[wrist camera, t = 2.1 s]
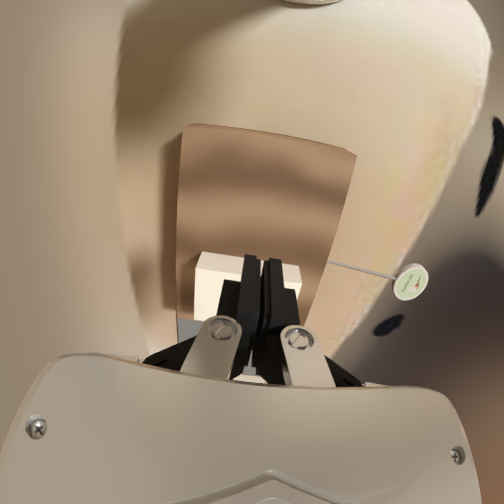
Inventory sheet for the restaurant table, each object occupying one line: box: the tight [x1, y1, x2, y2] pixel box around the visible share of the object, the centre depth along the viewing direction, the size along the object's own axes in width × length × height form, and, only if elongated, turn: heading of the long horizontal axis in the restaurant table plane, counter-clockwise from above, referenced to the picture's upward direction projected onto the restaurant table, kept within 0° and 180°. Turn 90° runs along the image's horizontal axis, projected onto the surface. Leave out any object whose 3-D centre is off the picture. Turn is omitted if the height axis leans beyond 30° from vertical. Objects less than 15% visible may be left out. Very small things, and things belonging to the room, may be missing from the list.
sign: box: [327, 260, 428, 300], centre depth 30 cm, size 5×1×15 cm
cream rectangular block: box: [194, 251, 302, 321], centre depth 25 cm, size 6×9×3 cm, turn 81°
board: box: [176, 124, 357, 326], centre depth 26 cm, size 20×14×4 cm
